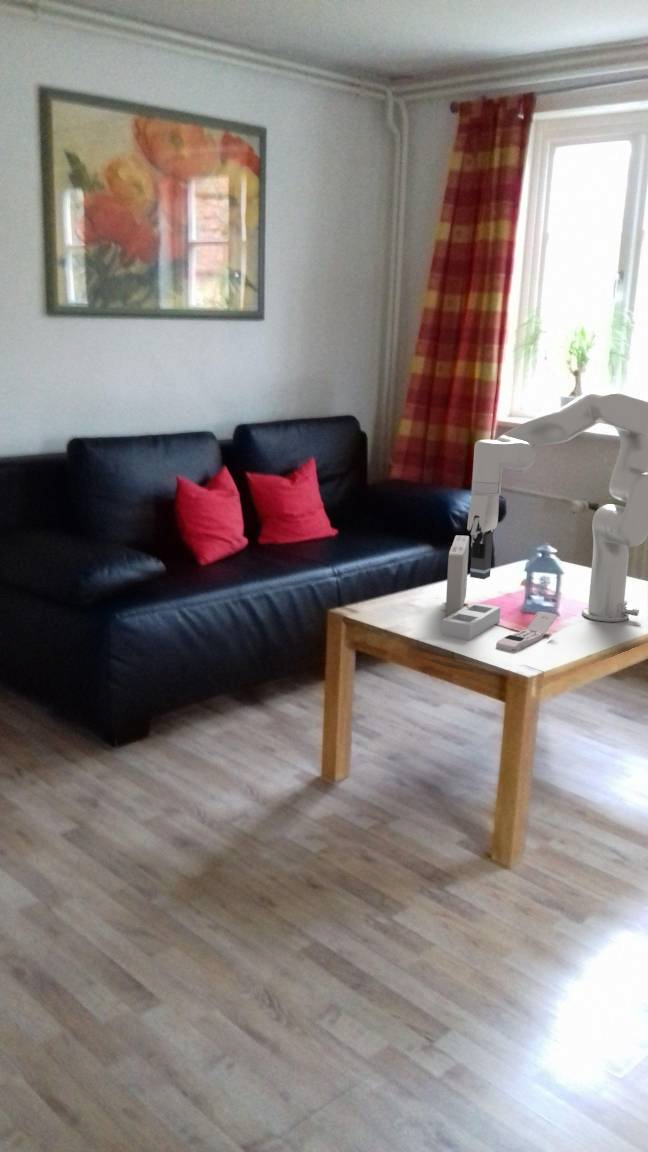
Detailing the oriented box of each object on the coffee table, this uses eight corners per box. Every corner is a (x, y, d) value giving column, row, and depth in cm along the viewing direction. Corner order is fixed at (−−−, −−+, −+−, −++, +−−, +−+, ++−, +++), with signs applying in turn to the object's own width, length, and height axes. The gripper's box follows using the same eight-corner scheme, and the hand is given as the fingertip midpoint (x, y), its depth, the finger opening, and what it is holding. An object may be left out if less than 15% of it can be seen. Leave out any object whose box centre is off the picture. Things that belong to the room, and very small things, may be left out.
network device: (467, 627, 275) (471, 555, 270) (434, 625, 277) (438, 553, 272) (473, 602, 299) (477, 535, 294) (443, 600, 301) (446, 533, 296)
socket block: (499, 624, 278) (500, 606, 277) (469, 643, 262) (470, 624, 260) (472, 619, 282) (473, 601, 281) (441, 638, 266) (441, 619, 264)
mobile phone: (559, 614, 269) (512, 635, 250) (557, 635, 270) (511, 658, 252) (538, 610, 273) (491, 631, 254) (537, 631, 274) (489, 653, 255)
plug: (490, 576, 273) (493, 532, 270) (484, 579, 270) (487, 534, 267) (474, 573, 275) (477, 530, 272) (467, 576, 272) (470, 532, 269)
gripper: (485, 482, 275) (480, 548, 280) (459, 490, 261) (455, 560, 266) (511, 485, 271) (506, 552, 276) (487, 493, 258) (482, 564, 262)
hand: (481, 555), depth 271 cm, fingers closed on plug, 4 cm apart
